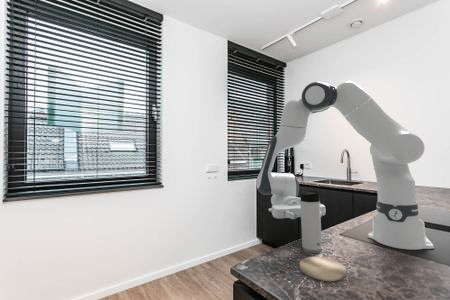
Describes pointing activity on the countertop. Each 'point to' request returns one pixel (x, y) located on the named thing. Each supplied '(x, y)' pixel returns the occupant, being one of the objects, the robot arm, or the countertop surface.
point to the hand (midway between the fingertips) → (307, 215)
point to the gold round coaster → (322, 268)
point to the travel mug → (311, 221)
